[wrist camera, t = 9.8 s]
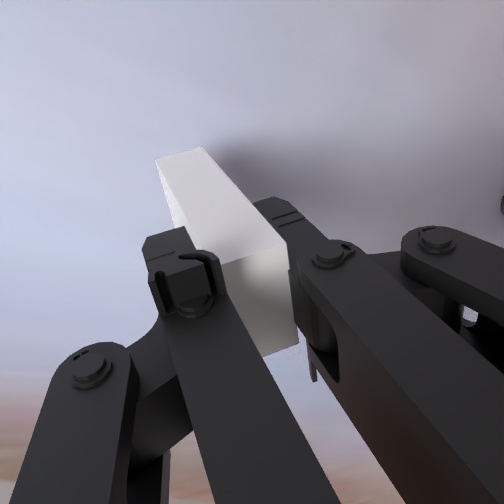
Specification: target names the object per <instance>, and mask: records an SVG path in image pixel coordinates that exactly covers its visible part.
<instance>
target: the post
mask: <svg viewBox="0 0 504 504" xmlns="http://www.w3.org/2000/svg"><path fill="white" fill-rule="evenodd" d="M501 211H502V214H503V215H504V196H503V199H502V203H501Z"/></svg>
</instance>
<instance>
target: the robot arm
mask: <svg viewBox="0 0 504 504" xmlns="http://www.w3.org/2000/svg"><path fill="white" fill-rule="evenodd" d="M155 161H156V164H157V168H158V171H159V175H160V178H161V182H162V185H163V189H164V192H165V196H166V199H167V203H168V206H169V210H170V213H171V216H172V220H173V223H174V227H175V229H172V230H169V231H165V232H162V233H159V234H156V235H152V236H149V237H147V238H146V240H145V243H144V245H143V247H142V252H143V256H144V259H145V262H146V266H147V269H148V272H149V274H148V284H149V287H150V290H151V293H152V295H153V298H154V301H155V304H156V307H157V309H158V312H159V315H158V318H157V321H156V323H155V324H154V326H153V327H152V329H151V330H150V331H149V332H148V333H147V334H146V335H145V336H143V337H142V338H140V339H139V340H138V341H136V342H135V343H133V344H132V345H130V346H128V347H127V348H125V347H124V346H123V345H120V344H117V343H114V342H99V343H95V344H92V345H89V346H86V347H83V348H82V349H80V350H78V351H77V352H75V353H73V354H72V355H70V356H69V357H68V358H67V359H66V360H65V361H64V362H63V363H62V364H61V365H60V366H59V367H58V368H57V370H56V372H55V374H54V375H53V377H52V379H51V382H50V385H49V388H48V391H47V394H46V397H45V400H44V402H43V405H42V408H41V411H40V414H39V417H38V420H37V423H36V426H35V429H34V432H33V435H32V438H31V441H30V443H29V446H28V449H27V452H26V455H25V458H24V461H23V464H22V467H21V470H20V473H19V476H18V479H17V481H16V484H15V488H14V490H13V493H12V497H11V499H10V502H9V504H169V480H170V457H171V453H170V448H172V447H173V446H174V445H175V444H177V443H178V442H179V441H180V440H182V439H183V438H184V437H185V436H187V435H188V434H189V433H190V432H192V431H193V430H194V433H195V436H196V440H197V443H198V447H199V450H200V453H201V457H202V460H203V464H204V467H205V470H206V474H207V477H208V480H209V484H210V487H211V491H212V494H213V497H214V501H215V504H341V502H340V501H339V499H338V497H337V495H336V493H335V491H334V489H333V488H332V486H331V484H330V482H329V480H328V478H327V477H326V475H325V473H324V471H323V469H322V467H321V465H320V464H319V462H318V460H317V458H316V456H315V454H314V453H313V451H312V449H311V447H310V445H309V443H308V441H307V440H306V438H305V436H304V434H303V432H302V430H301V429H300V427H299V425H298V423H297V421H296V419H295V417H294V416H293V414H292V412H291V410H290V408H289V406H288V405H287V403H286V401H285V399H284V397H283V395H282V393H281V392H280V390H279V388H278V386H277V384H276V382H275V381H274V379H273V377H272V375H271V373H270V371H269V369H268V368H267V366H266V364H265V362H264V360H263V358H262V357H265V356H267V355H270V354H272V353H275V352H278V351H280V350H283V349H285V348H288V347H290V346H293V345H296V344H298V343H299V338H298V331H297V326H298V328H299V329H300V331H301V332H302V333H303V335H304V336H305V338H306V343H307V352H308V360H309V369H310V376H311V379H312V382H313V383H314V382H316V381H317V372H316V369H317V370H318V372H319V373H320V375H321V376H322V378H323V379H324V381H325V382H326V384H327V385H328V387H329V388H330V390H331V391H332V393H333V394H334V396H335V397H336V399H337V400H338V402H339V403H340V405H341V406H342V408H343V409H344V411H345V412H346V414H347V416H348V417H349V419H350V420H351V422H352V423H353V425H354V426H355V428H356V429H357V431H358V432H359V434H360V435H361V437H362V438H363V440H364V441H365V443H366V444H367V446H368V447H369V449H370V450H371V452H372V453H373V455H374V456H375V458H376V459H377V461H378V462H379V464H380V465H381V467H382V468H383V470H384V471H385V473H386V474H387V476H388V478H389V479H390V481H391V482H392V484H393V485H394V487H395V488H396V490H397V491H398V493H399V494H400V496H401V497H402V499H403V500H404V502H405V503H406V504H504V248H501V247H499V246H496V245H494V244H491V243H489V242H486V241H484V240H481V239H479V238H476V237H474V236H471V235H469V234H466V233H464V232H461V231H459V230H455V229H452V228H448V227H442V226H427V227H426V226H425V227H419V228H416V229H414V230H411V231H409V232H408V233H407V234H406V235H404V236H403V238H402V242H401V251H396V252H388V253H380V254H366V253H365V252H363V251H362V250H361V249H360V248H359V247H357V246H355V245H354V244H352V243H350V242H346V241H342V240H329V239H327V238H326V237H325V236H324V235H323V234H322V233H321V232H320V231H319V230H318V229H317V228H316V227H315V226H314V225H313V224H312V223H310V222H309V221H308V220H307V219H305V217H304V216H303V215H302V214H301V213H300V212H298V210H297V209H296V208H295V207H293V206H292V205H291V204H290V203H289V202H288V201H285V200H282V199H279V198H276V197H271V198H268V199H264V200H261V201H258V202H255V203H251V202H250V201H249V200H248V199H247V198H246V197H245V195H244V194H243V193H242V192H241V191H240V190H239V189H238V187H237V186H236V185H235V184H234V183H233V182H232V181H231V179H230V178H229V177H228V176H227V175H226V174H225V173H224V172H223V170H222V169H221V168H220V167H219V166H218V165H217V164H216V162H215V161H214V160H213V159H212V158H211V157H210V156H209V154H208V153H207V152H206V151H205V150H204V149H203V148H202V147H197V148H194V149H190V150H186V151H182V152H179V153H175V154H171V155H168V156H164V157H160V158H157V159H155ZM464 305H465V306H467V307H469V308H470V309H472V310H474V311H476V312H478V318H477V322H471V321H468V320H466V319H464V318H463V312H464Z"/></svg>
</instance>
